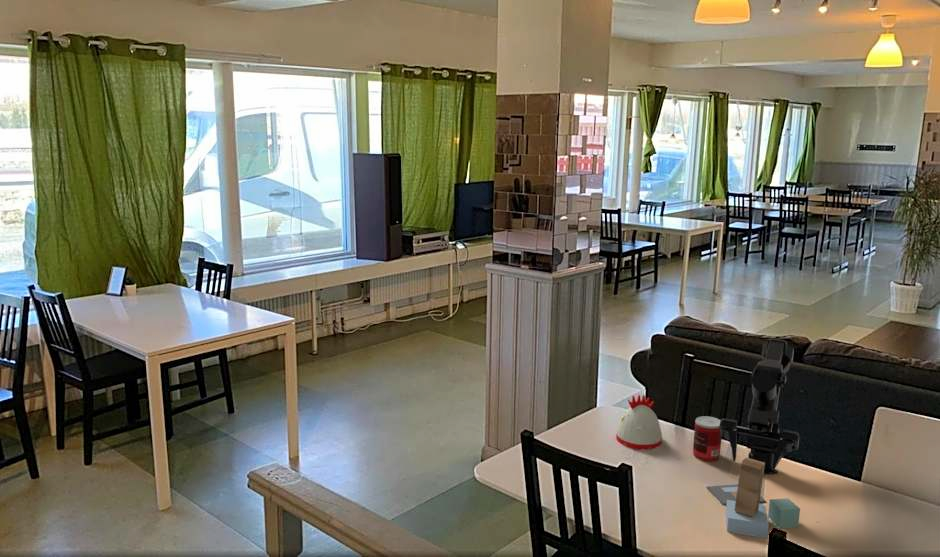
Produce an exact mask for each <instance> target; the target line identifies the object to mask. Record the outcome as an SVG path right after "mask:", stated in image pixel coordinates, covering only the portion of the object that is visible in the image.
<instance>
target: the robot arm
mask: <svg viewBox="0 0 940 557" xmlns="http://www.w3.org/2000/svg"><path fill="white" fill-rule="evenodd" d="M794 354H795V353H794V347H793V346H792V345H790V344H788V341H786V340H784V339H778V338H768V340H767V341H766V342H764V343H763V344H762V350H761V359H762V360H760V361H758V363H757V364H756V367H753V370H752V372H751V376H750V382H751V390H752V395H753V396H752V400H751V407H750V408H749V412H748V414H747V421H746V425H747V426H742V425H738V421H737V420H736V419H732V418H731V419H730V418H725V417H723V418H721V419H720V420H721V421H720V426H719V428H720V434H721V435H722V437H724V438H725V440H728V441H729V444H730V448H731V452H732V453H731V455H732V460H733V462H734V463H735V462H736V459H737V450H738V449H737V445H738V437H737V435H738V434H741V435H746V436H747V445H746V446H747V447H746V448H747V449H748V450H749V452H748V457H747V458H750V459H754V460H757V461H761V462H764V463H765V467H764V474H765V475H768V474H770V475H771V474H778V473H779V471H778V470H777V469H776V468H777V467H778V465H779V463H780V461H781V460H782V458H783V457H784V456H785V455H786V454H787V453H791V452H793V451H798V450H799V443H800V434H799V433H798V431H793V430H788V429H782V431H781V433H780V425H779V417H780V410H777V409H778V406H779V404H778V403H779V397H780V393H781V392H780V391H781V388H783V387H784V386H786V382H787V375H786V374H787V373H788V371H789V370H790V365H791V364H793V361H794ZM764 474H763V475H764Z"/></svg>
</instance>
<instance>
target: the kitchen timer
mask: <svg viewBox="0 0 940 557" xmlns="http://www.w3.org/2000/svg"><path fill="white" fill-rule="evenodd" d="M650 399H651V398H649V397H647V398H646V396H645V394H644V393H643V394H642V396H641V395H640V394H638V395H637V399H636V398H635V395H632V398H631V401H630V399H627V401H628V404H629V408H628V409H626V411H625V412H624V413H623V414H622V416H621V418H620V421H619V423H618V425H617V428H616V434H615V435H616V437H615V438H616V441H617V442H618V443H619V444H621V445H622V446H625V447H627V448H630V449H633V450H635V449H636V450H647V451H648V450H653V449H657V448H659V447H660V446H661V445H662V443H663V435H662V430H661V429H662V428H661V424H660V421H659V419H658V416H657V414H656V413H655V412H654V410H652V407H653V405H654V404H655V402H654V400H652V401H651V402H650ZM658 446H659V447H658ZM656 447H657V448H656Z"/></svg>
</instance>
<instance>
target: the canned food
mask: <svg viewBox="0 0 940 557" xmlns="http://www.w3.org/2000/svg"><path fill="white" fill-rule="evenodd" d="M721 420H722V419H719V418H717V417H715V416H707V415H705V416H704V415H703V416H698V417H696V418H695V421H694V423H695V424H694V431H693V432H694V433H693V446H692V453H693V456H694V457H695V458H697V459H698V460H701V461H706V462H715V461H717V460H718V459H719V458H720V455H721V445H722V437H723V435H721V434H720V428H719V426H720V421H721Z"/></svg>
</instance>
